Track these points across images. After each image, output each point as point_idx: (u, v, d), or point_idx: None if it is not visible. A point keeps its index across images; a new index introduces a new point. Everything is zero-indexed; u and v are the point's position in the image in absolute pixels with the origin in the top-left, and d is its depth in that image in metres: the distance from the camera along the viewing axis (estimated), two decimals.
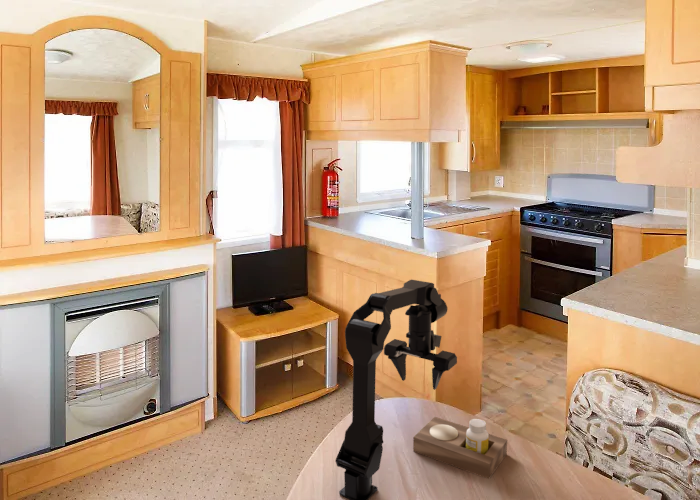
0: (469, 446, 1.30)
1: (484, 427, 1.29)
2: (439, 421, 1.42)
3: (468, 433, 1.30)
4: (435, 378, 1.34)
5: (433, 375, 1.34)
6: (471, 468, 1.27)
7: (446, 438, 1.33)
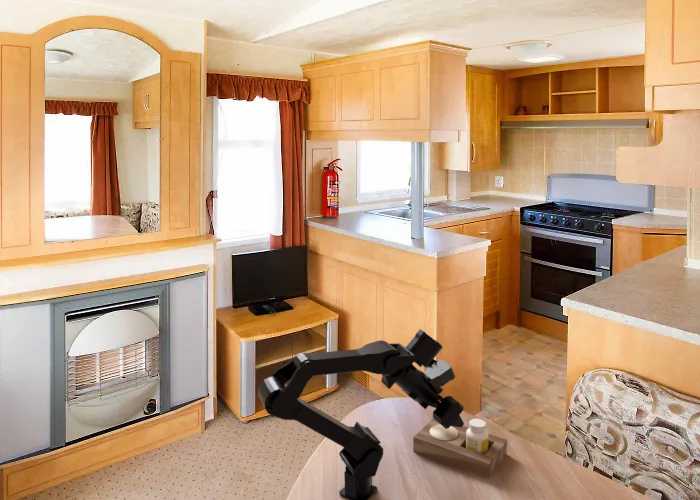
0: (469, 446, 1.30)
1: (484, 427, 1.29)
2: None
3: (468, 433, 1.30)
4: None
5: None
6: (471, 468, 1.27)
7: (446, 438, 1.33)
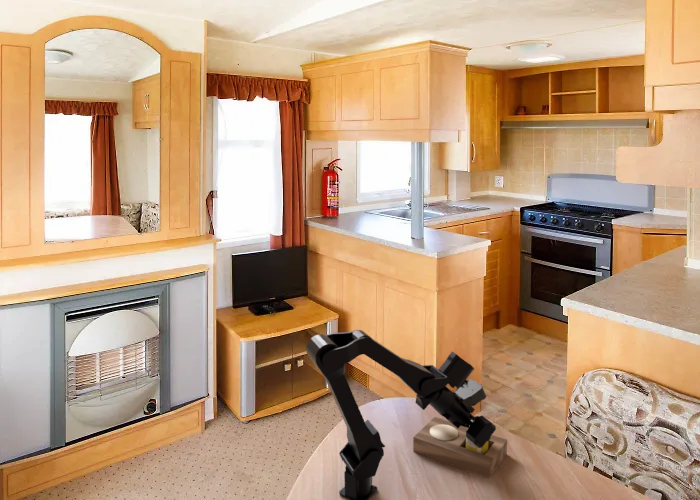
0: (469, 446, 1.30)
1: None
2: (439, 421, 1.42)
3: None
4: None
5: None
6: (471, 468, 1.27)
7: (446, 438, 1.33)
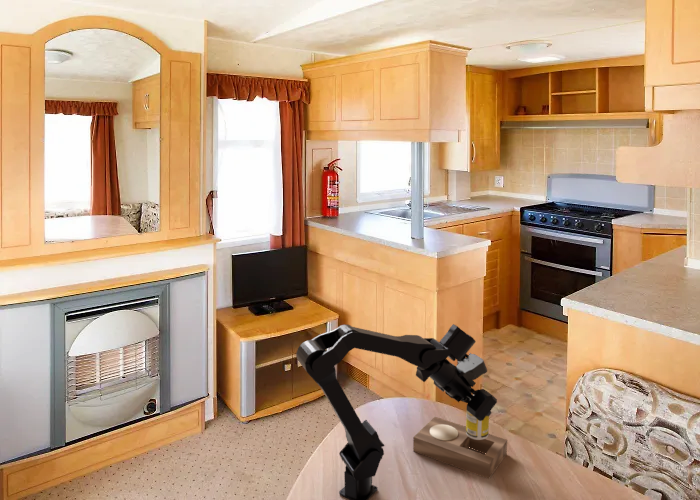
0: (470, 421, 1.28)
1: None
2: (439, 421, 1.42)
3: None
4: None
5: None
6: (471, 468, 1.27)
7: (446, 438, 1.33)
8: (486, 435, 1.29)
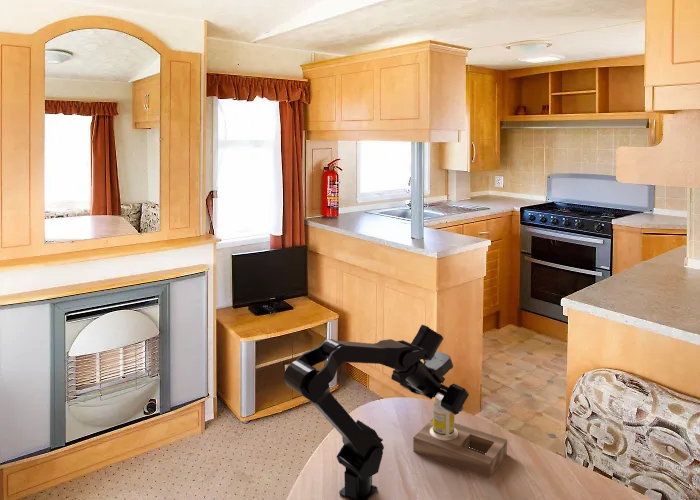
0: (438, 420, 1.33)
1: None
2: None
3: (436, 408, 1.34)
4: None
5: None
6: (471, 468, 1.27)
7: (446, 438, 1.33)
8: (453, 431, 1.35)
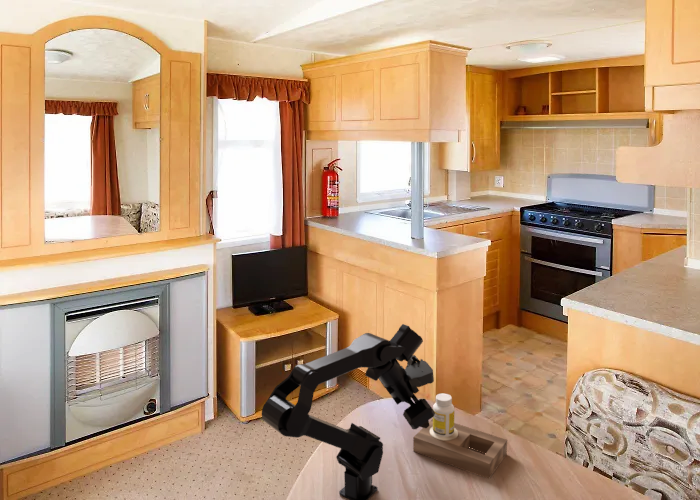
0: (438, 420, 1.33)
1: (450, 400, 1.33)
2: None
3: (436, 408, 1.34)
4: None
5: None
6: (471, 468, 1.27)
7: (446, 438, 1.33)
8: (453, 431, 1.35)
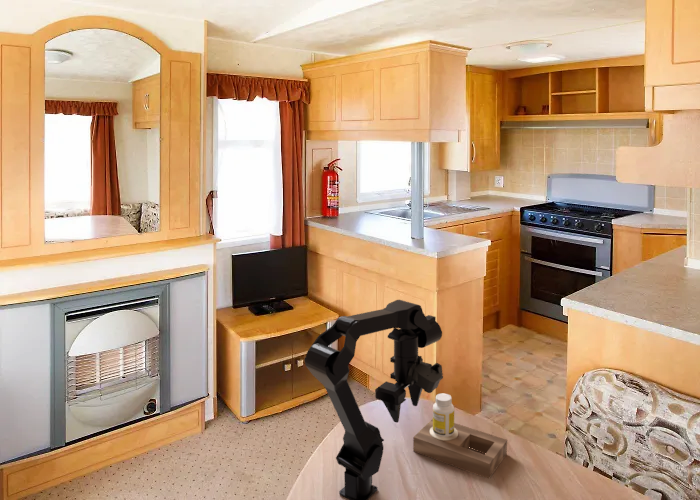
0: (438, 420, 1.33)
1: (450, 400, 1.33)
2: None
3: (435, 408, 1.34)
4: None
5: None
6: (471, 468, 1.27)
7: (446, 438, 1.33)
8: (453, 431, 1.35)
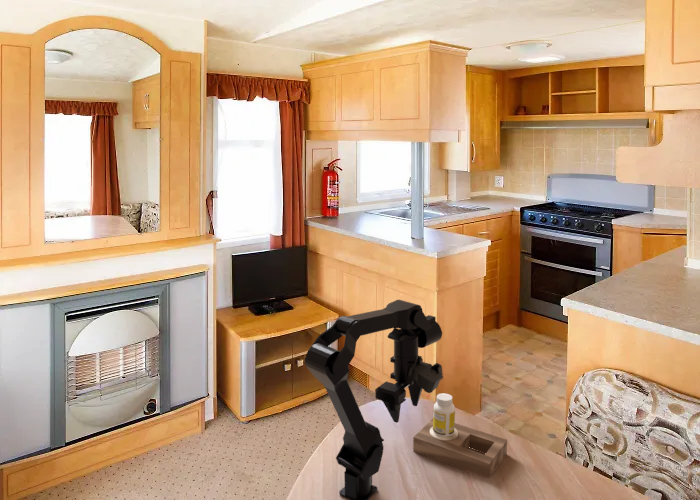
0: (438, 420, 1.33)
1: (451, 400, 1.33)
2: None
3: (436, 408, 1.34)
4: None
5: None
6: (471, 468, 1.27)
7: (446, 438, 1.33)
8: (453, 431, 1.35)
